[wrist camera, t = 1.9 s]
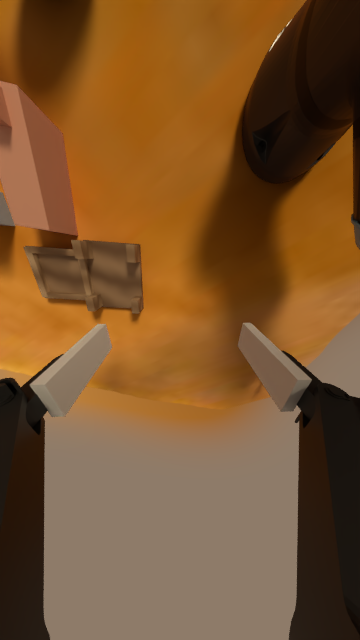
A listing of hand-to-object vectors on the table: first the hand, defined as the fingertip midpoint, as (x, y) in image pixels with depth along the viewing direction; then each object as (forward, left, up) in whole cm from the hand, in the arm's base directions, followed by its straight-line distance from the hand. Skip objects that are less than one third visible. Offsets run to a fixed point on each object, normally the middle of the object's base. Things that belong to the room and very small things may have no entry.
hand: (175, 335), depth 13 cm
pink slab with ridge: (-16, -22, -21) cm, 35 cm away
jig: (-1, -19, -21) cm, 29 cm away
